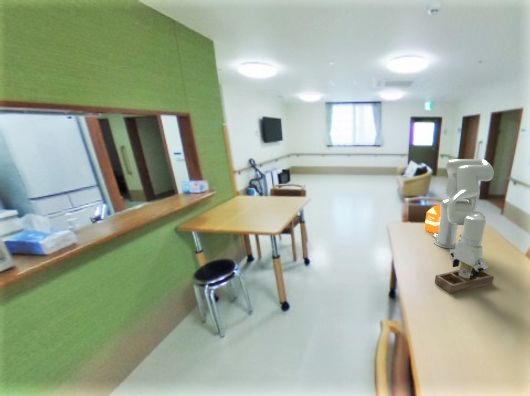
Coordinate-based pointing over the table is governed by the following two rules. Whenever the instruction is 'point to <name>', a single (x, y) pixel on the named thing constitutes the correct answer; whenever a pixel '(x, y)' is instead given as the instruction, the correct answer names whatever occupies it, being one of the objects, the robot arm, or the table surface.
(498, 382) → the table surface
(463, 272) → the sprinkles bottle
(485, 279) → the rack
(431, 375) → the table surface
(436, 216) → the orange juice
